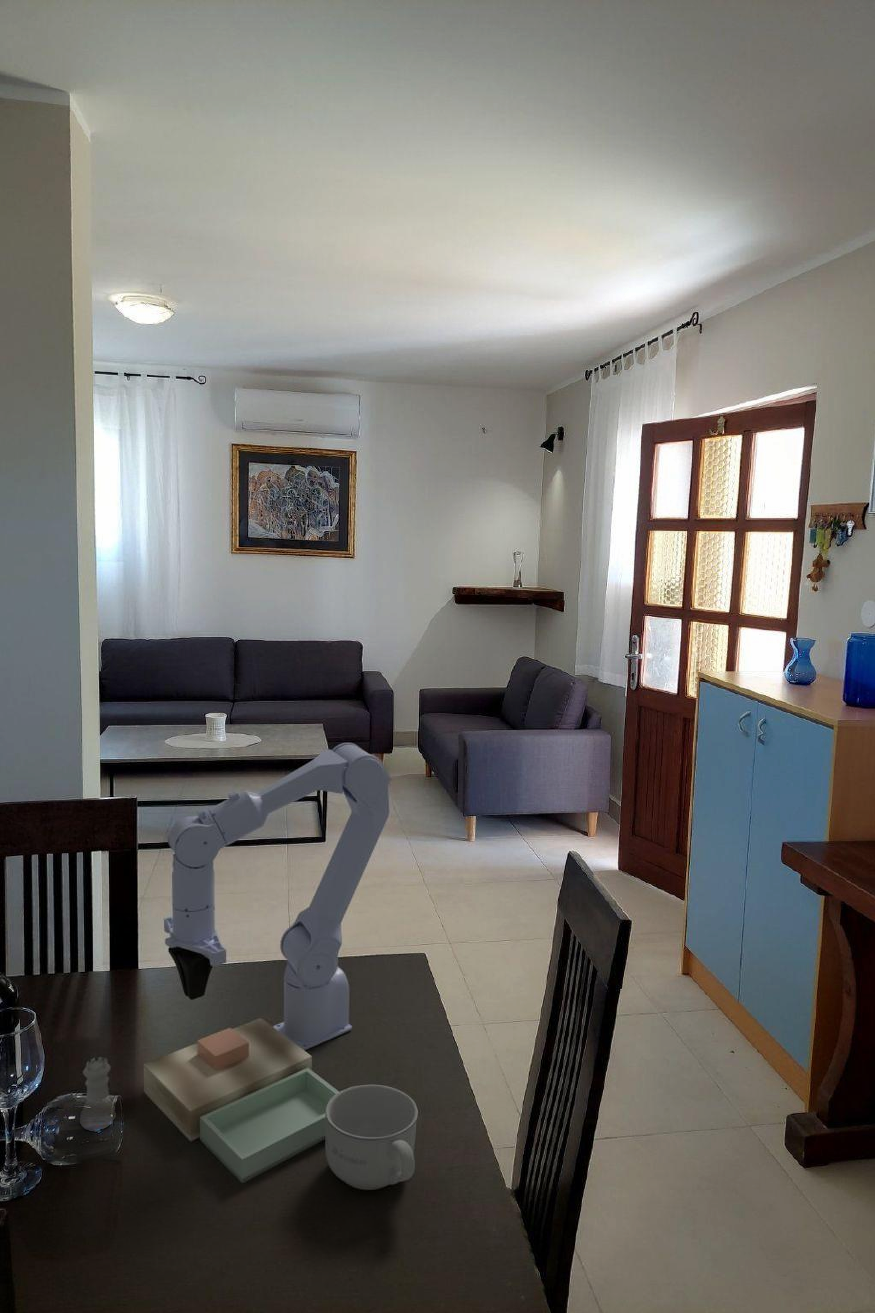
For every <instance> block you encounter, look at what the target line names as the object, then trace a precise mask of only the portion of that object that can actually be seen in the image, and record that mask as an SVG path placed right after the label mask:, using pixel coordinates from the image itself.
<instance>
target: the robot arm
mask: <svg viewBox="0 0 875 1313" xmlns="http://www.w3.org/2000/svg"><path fill="white" fill-rule="evenodd" d="M391 780H392V778H391V776H390V774H389V772H388V770H387V768H386V766H385V765H384V763H383V761H382V760H381V759H380V758H379V757H377V756H376V755H372V754H370V753H368V752H367V751H365V750H364V749H362V748H361V747H360V746H358V744H356V743H352V742H342V743H339V744H338V745H337V746H335V747H333V748H332V749H327V750H324V751H323V752H321V753H320V754H318V755H317V756H316V757H315V758H313V759H312V760H311V761H309V762H307V763H306V764H304V765H302V766H300V767H298V768H297V769H295V770H294V771H292V772H291V773H289V774H287V775H285V776H284V777H282V778H280V779H279V780H277V781H275V782H273V783H272V784H270V785H269V786H267V787H265V788H264V789H262V790H260V791H259V792H252V791H249V790H242V791H241V792H238V791H237V790H234V791H232V792H230V793H228V799H226V800H223V801H222V802H220V803H217V804H216V805H214V806H212V807H210V808H209V809H206V810H205V809H203V808H202V809H200V810H198V811H197V812H196V813H197V815H193V816H191V815H187V816H184V817H182V818H180V819H179V820H177V821H176V822H175V823H174V824H173V825H174V826H172V827H171V828H170V831H169V834H168V836H167V837H166V838H167V843H168V846H169V848H170V849H171V850H172V851H173V852H174V853H173V854H172V872H171V873H172V874H171V881H172V882H171V893H172V894H171V895H172V896H171V898H172V899H171V902H172V904H171V906H172V916H168V917H166V918H163V931H164V932H165V933H166V934H168V935H169V937H166V938H165V939H164V945H165V946H167V947H169V948H168V951H167V952H168V954H169V955H170V957H171V958H172V960H173V962H174V964H175V967H176V970H177V972H178V976H179V979H180V984H181V987H182V990H183V993H184V996H186V997H188V999H189V1000H190V1001H193V1000H195V999H199V998H202V997H204V996H205V994H206V990H207V987H208V986H207V985H208V982H209V977H210V975H211V972H212V969H213V967H218V966H219V965H222V964H226V963H227V949H226V948H225V947H224V946H223V944H222V943H221V940H220V936H219V935H218V932H217V930H216V927H215V926H216V919H215V918H216V915H215V913H216V912H215V911H216V907H215V906H216V905H215V870H214V861H215V859H216V858H217V855H218V854H219V851H220V850H221V849H223V848H225V847H227V846H229V845H231V844H233V843H235V842H236V841H238V840H240V839H242V838H244V837H245V836H247V835H249V834H252V833H253V832H254V831H257V830H258V829H260V828H263V827H264V825H265V822H266V819H267V817H268V816H269V814H270V813H271V814H272V813H273V812H275V811H278V810H279V809H281V808H283V807H285V806H288V805H289V804H292V803H293V802H296V801H298V800H300V799H303V798H305V797H306V796H309V795H310V794H313V793H316V792H317V791H321V792H322V791H324V792H329V793H335V794H340V795H341V794H343V795H344V796H345V799H346V801H347V803H348V805H349V808H350V811H351V813H350V815H349V817H348V819H347V822H346V823H345V826H344V828H343V831H342V833H341V835H340V837H339V839H338V842H337V844H336V846H335V848H334V851H333V853H332V854H331V856H330V859H329V862H328V864H327V865H326V868H325V871H324V873H323V875H322V877H321V880H320V882H319V884H318V887H317V889H316V891H315V893H314V896H313V897H312V900H311V902H310V903H309V906H308V907H306V908H305V909H303V910H301V911H299V913H298V915H297V917H296V919H295V920H294V922H293V923H292V924H291V925H290V926H289V927H288V928H287V929H286V930H284V933H283V934H282V936H281V939H280V943H279V945H280V946H279V947H280V948H279V949H280V952H281V954H282V956H283V957H284V958H285V960H287V962H286V963H287V964H286V967H285V970H284V974H283V1021H282V1022H280V1023H278V1024H274V1025H273V1026H272V1027H274V1028H275V1029H276V1030H278V1031H279V1032H280V1033H282V1034H283V1035H284V1036H286V1037H287V1038H288V1039H290V1040H291V1041H292V1042H294V1043H295V1044H296V1045H298V1046H299V1047H300V1048H302V1049H303V1050H304V1051H307V1050H309V1049H311V1048H313V1047H315V1046H318V1045H320V1044H322V1043H325V1042H327V1041H330V1040H331V1039H333V1038H336V1037H338V1036H340V1035H342V1034H345V1033H347V1032H349V1031H351V1030H352V1029H353V1026H352V1025H351V1024H350V1022H349V1021H350V1020H349V1019H350V1014H349V1013H350V985H349V981H348V978H347V975H346V974H345V972H344V971H343V970H342V969H341V968H340V966H339V951H340V949H341V947H342V944H343V936H342V934H343V933H342V921H343V919H344V917H345V915H346V913H347V910H348V908H349V906H350V904H351V901H352V899H353V897H354V895H355V893H356V891H357V888H358V886H359V883H360V881H361V879H362V877H363V875H364V872H365V870H366V867H367V866H368V863H369V861H370V858H371V856H372V854H373V853H374V852H373V851H374V850H375V847H376V846H377V843H378V841H379V839H380V836H381V835H382V831H383V829H384V828H385V825H386V823H387V820H388V818H389V815H390V799H389V798H390V796H389V784H390V782H391Z"/></svg>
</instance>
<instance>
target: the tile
mask: <svg viewBox="0 0 875 1313" xmlns="http://www.w3.org/2000/svg"><path fill="white" fill-rule="evenodd" d="M233 1029H234V1028H231V1027H228V1028H225V1029H222V1030H220V1031H218V1032H215V1033H212V1034H209V1035H208V1036H206V1037H202V1038H200V1039H197V1040H196V1041H197V1042H196V1043H197V1054H198V1055H199V1056H200V1057H201V1058H202V1059H203V1060H204V1061H206V1062H207V1063H208V1064H209V1065H210V1066H211V1067H212V1068H213V1069H214V1070H218V1069H221V1068H223V1067H226V1066H228V1065H230V1064H233V1063H235V1062H237V1061H240V1060H242V1059H244V1058H247V1057H249V1042H247V1041H246V1040H245V1039H244V1038H242V1037H241V1036H240V1035H239V1034H237V1033H236V1032H235V1031H234V1030H233Z"/></svg>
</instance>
